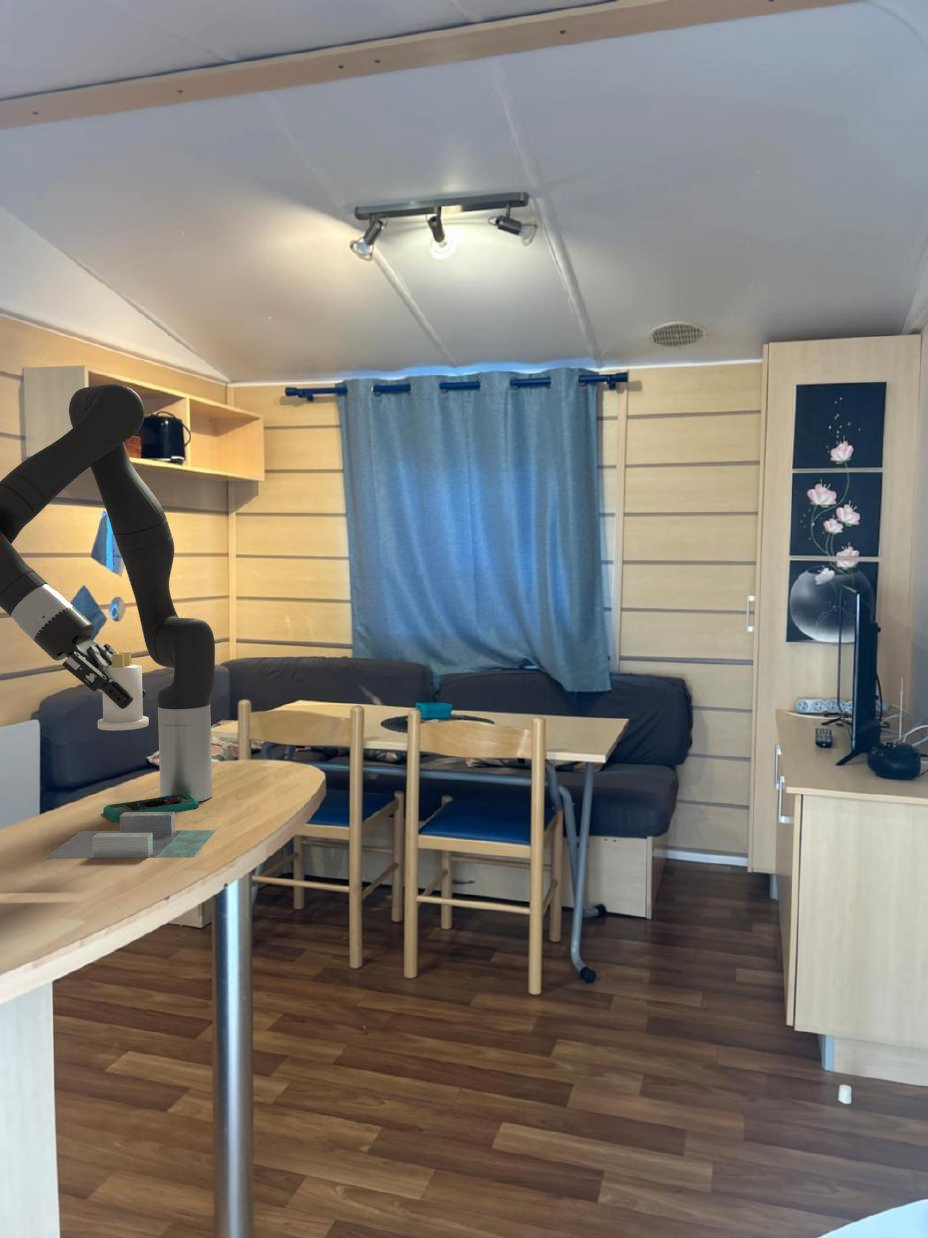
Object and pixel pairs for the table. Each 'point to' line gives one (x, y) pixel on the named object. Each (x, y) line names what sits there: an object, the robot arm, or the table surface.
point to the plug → (132, 683)
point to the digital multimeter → (152, 805)
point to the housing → (136, 839)
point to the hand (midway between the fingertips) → (135, 701)
